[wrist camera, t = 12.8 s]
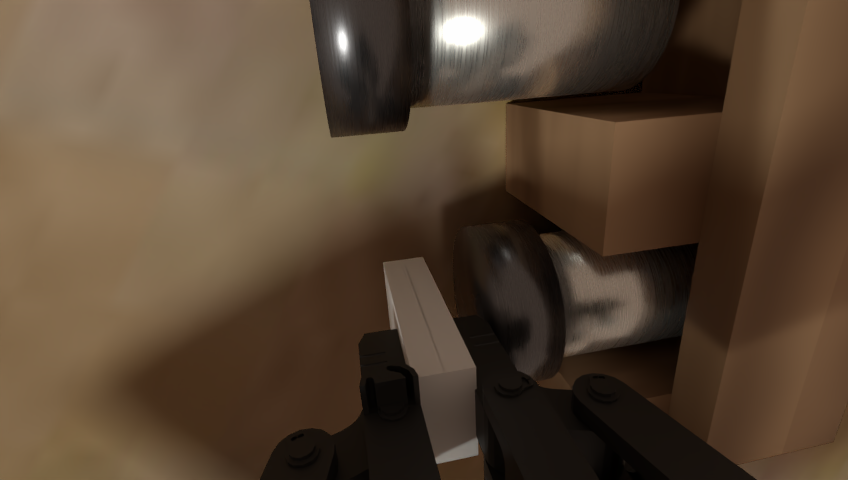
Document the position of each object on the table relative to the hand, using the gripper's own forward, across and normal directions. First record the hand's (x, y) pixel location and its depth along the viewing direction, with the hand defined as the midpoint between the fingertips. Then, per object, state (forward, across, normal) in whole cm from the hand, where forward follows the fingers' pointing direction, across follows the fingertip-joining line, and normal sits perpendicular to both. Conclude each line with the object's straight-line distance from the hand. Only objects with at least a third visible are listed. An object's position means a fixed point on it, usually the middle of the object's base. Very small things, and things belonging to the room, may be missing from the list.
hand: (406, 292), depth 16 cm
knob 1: (+1, +3, +9) cm, 9 cm away
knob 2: (+1, +6, 0) cm, 7 cm away
